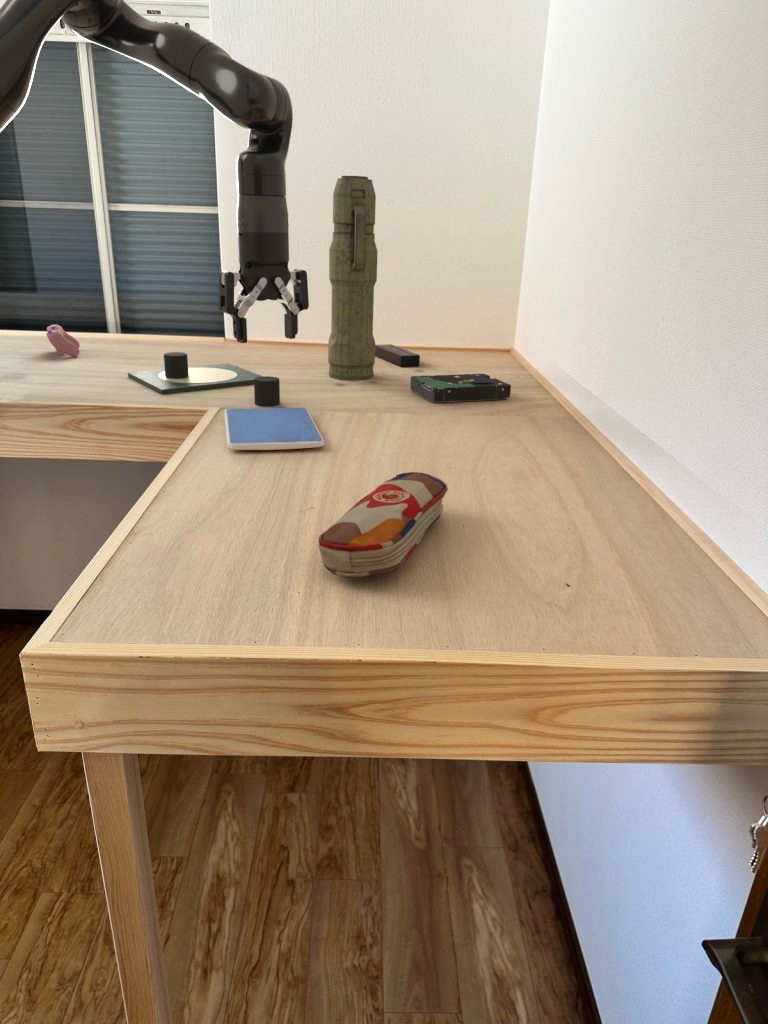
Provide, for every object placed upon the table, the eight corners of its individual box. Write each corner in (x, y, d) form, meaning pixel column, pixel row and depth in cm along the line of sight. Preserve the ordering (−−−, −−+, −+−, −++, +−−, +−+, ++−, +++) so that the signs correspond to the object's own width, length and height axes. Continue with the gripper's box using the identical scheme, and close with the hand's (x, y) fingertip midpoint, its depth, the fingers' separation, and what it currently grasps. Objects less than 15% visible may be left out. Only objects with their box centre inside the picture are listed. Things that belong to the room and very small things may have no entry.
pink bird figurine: (62, 356, 156) (42, 326, 153) (81, 346, 157) (62, 316, 153) (61, 365, 148) (39, 333, 144) (81, 354, 148) (60, 323, 145)
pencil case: (275, 563, 63) (273, 510, 61) (397, 500, 79) (399, 456, 77) (379, 601, 58) (381, 543, 56) (489, 525, 73) (493, 478, 71)
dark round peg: (170, 379, 127) (169, 356, 126) (161, 375, 130) (160, 353, 128) (192, 377, 129) (190, 354, 128) (183, 373, 132) (181, 351, 131)
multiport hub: (401, 367, 150) (401, 355, 150) (372, 355, 162) (373, 344, 162) (420, 366, 152) (420, 355, 151) (390, 354, 164) (391, 344, 163)
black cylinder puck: (262, 407, 115) (261, 382, 113) (250, 402, 118) (249, 377, 116) (284, 404, 117) (284, 379, 115) (272, 399, 120) (271, 375, 118)
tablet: (224, 415, 109) (223, 407, 109) (307, 413, 112) (307, 405, 111) (227, 454, 92) (226, 444, 91) (326, 451, 94) (326, 441, 94)
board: (161, 394, 121) (161, 388, 120) (128, 376, 132) (127, 372, 132) (268, 382, 132) (268, 377, 132) (228, 367, 144) (228, 362, 143)
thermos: (338, 382, 134) (341, 173, 121) (320, 370, 144) (321, 176, 131) (383, 380, 137) (390, 176, 124) (362, 369, 147) (367, 179, 134)
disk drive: (482, 388, 135) (408, 390, 130) (483, 373, 134) (409, 374, 128) (510, 400, 126) (433, 404, 121) (512, 384, 125) (434, 387, 120)
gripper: (291, 229, 115) (293, 334, 121) (207, 227, 106) (213, 340, 112) (317, 230, 109) (317, 340, 115) (230, 229, 101) (236, 347, 107)
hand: (266, 340), depth 114 cm, fingers open, 8 cm apart
